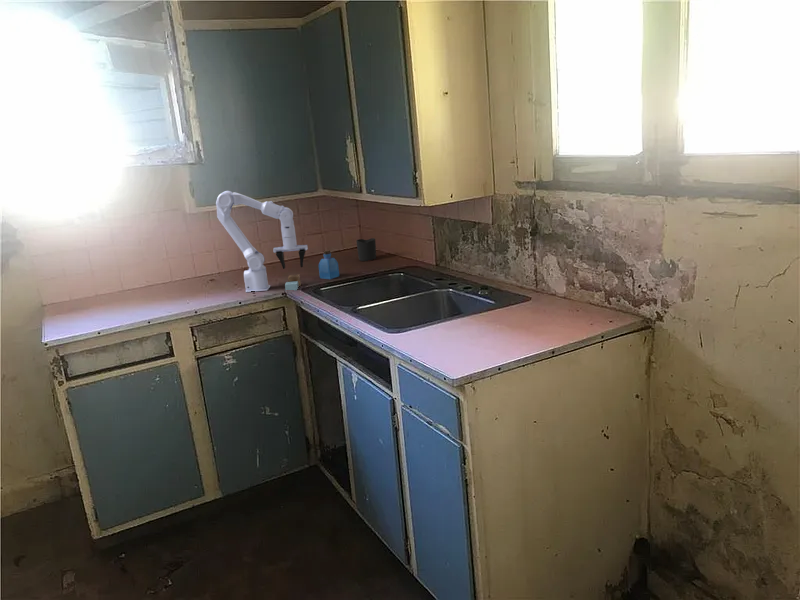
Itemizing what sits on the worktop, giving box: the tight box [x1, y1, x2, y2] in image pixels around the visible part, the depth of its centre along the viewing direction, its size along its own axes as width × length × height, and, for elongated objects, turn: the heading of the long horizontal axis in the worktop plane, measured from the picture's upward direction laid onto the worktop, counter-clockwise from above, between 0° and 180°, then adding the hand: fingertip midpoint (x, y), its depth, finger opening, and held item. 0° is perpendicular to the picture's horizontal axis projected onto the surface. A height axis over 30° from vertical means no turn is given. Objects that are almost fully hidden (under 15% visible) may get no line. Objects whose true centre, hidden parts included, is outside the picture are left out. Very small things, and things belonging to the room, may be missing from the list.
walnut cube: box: [287, 274, 302, 287], centre depth 283 cm, size 4×4×4 cm
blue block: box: [284, 281, 300, 291], centre depth 278 cm, size 5×5×3 cm
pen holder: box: [356, 237, 377, 262], centre depth 325 cm, size 9×9×10 cm
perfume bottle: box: [318, 250, 340, 280], centre depth 293 cm, size 6×6×12 cm
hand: (293, 267), depth 282 cm, fingers open, 7 cm apart
